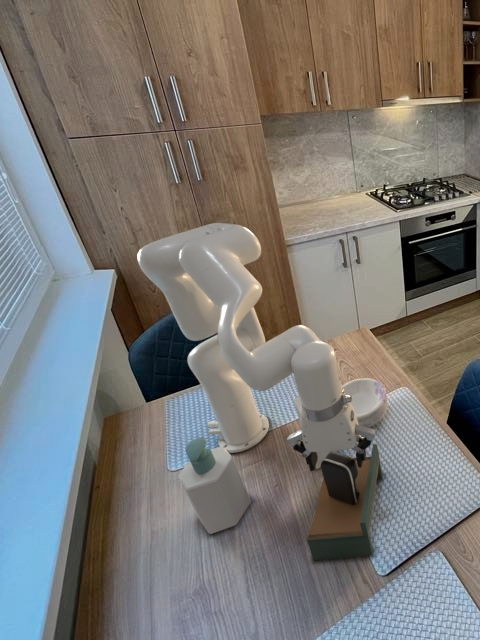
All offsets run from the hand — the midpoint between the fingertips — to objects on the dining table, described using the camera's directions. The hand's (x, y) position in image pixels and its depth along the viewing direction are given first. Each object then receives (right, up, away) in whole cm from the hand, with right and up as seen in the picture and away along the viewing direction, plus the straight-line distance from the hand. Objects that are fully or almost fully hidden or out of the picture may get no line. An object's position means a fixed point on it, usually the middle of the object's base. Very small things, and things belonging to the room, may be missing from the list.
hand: (337, 463), depth 84 cm
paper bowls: (-3, -3, +32) cm, 33 cm away
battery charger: (+1, -9, +4) cm, 10 cm away
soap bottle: (-28, -16, +9) cm, 33 cm away
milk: (-10, -9, +21) cm, 25 cm away
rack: (+1, -15, +7) cm, 17 cm away
